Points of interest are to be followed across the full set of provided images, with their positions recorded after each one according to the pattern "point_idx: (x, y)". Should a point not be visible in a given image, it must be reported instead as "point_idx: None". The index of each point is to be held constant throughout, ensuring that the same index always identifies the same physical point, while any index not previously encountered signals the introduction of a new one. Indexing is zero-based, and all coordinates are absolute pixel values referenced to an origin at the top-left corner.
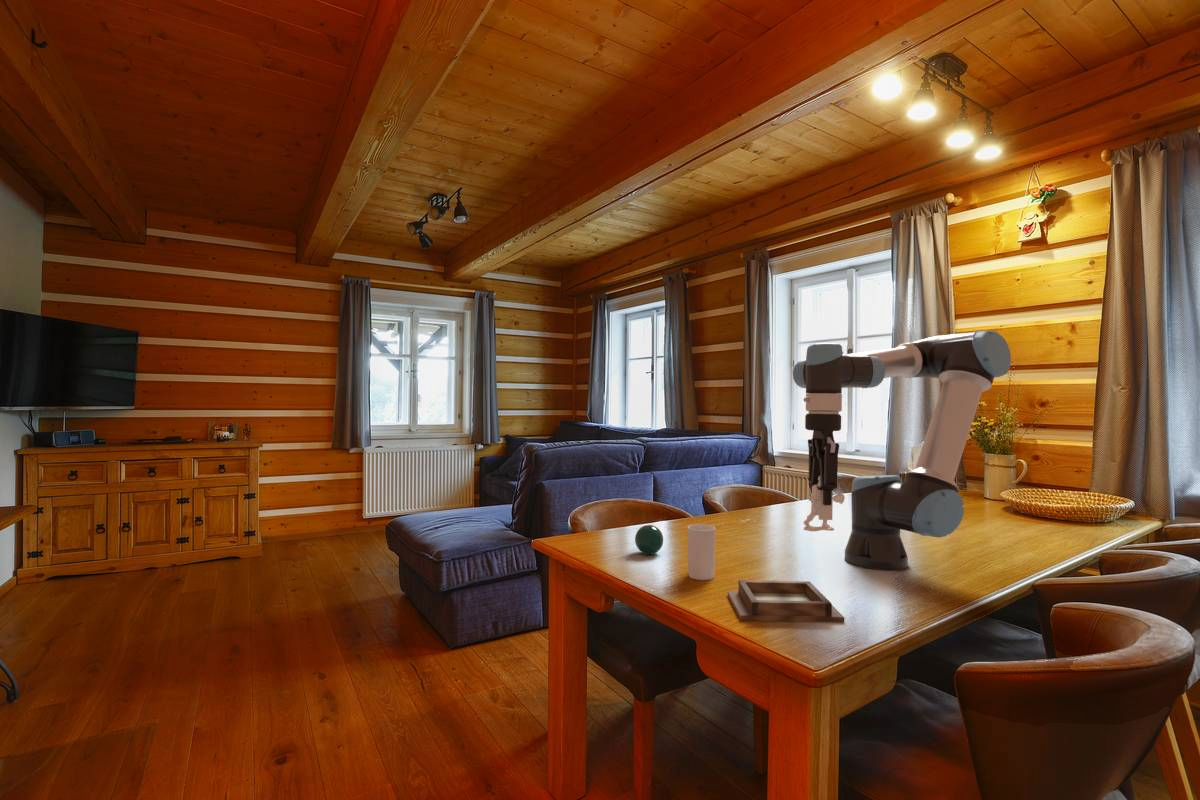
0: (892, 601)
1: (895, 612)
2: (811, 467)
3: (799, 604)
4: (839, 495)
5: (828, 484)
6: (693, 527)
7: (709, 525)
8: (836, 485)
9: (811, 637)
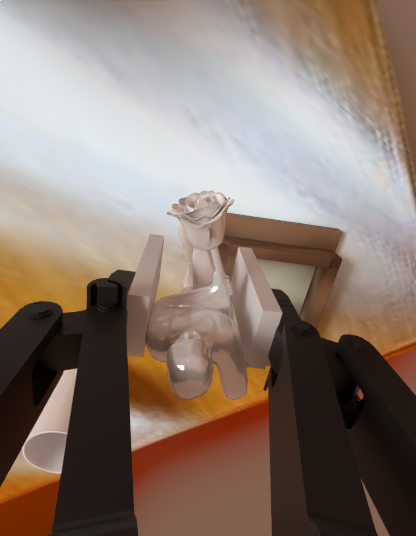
0: (264, 53)
1: (323, 96)
2: (19, 445)
3: (323, 306)
4: (217, 225)
5: (357, 392)
6: (33, 455)
7: (32, 437)
8: (376, 353)
9: (368, 299)
